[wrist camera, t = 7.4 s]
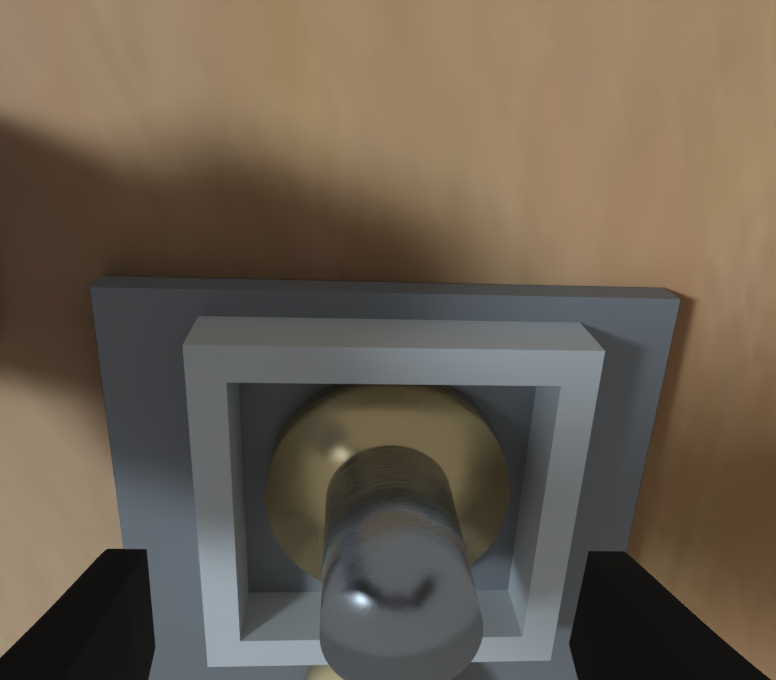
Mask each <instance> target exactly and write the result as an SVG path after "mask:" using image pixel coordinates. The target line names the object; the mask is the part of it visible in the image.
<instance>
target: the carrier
mask: <svg viewBox="0 0 776 680" xmlns="http://www.w3.org/2000/svg"><path fill="white" fill-rule="evenodd" d="M90 294H91V301H92V309H93V317H94V325H95V332H96V340H97V348H98V355H99V363H100V371H101V379H102V386H103V394H104V402H105V410H106V417H107V425H108V433H109V440H110V448H111V456H112V464H113V471H114V479H115V487H116V494H117V502H118V510H119V518H120V525H121V533H122V541H123V549H147V558H148V569H149V580H150V591H151V602H152V613H153V624H154V635H155V646H156V647H155V652H154V656H153V661H152V666H151V670H150V675H149V679H148V680H344V679H342V678H341V677H340V676H339V675H337V674H336V673H335V672H334V671H333V669H332V668H331V667H330V666H329V664H328V663H327V661H326V660H325V658H324V655H323V653H322V650H321V646H320V637H319V634H320V612H321V590H322V581H320V580H318V579H316V578H314V577H312V576H311V575H310V574H308V573H307V572H305V571H304V570H302V569H301V568H300V567H299V566H298V565H297V564H296V563H294V562H293V561H292V560H291V559H290V557H289V556H288V555H287V554H286V553H285V551H284V550H283V549H282V548H281V546H280V544H279V543H278V541H277V539H276V538H275V536H274V533H273V531H272V529H271V526H270V524H269V520H268V516H267V512H266V501H265V494H266V482H267V477H268V472H269V466H270V461H271V457H272V452H273V448H274V445H275V443H276V440H277V438H278V435H279V434H280V432H281V430H282V428H283V426H284V425H285V423H286V422H287V421H288V419H289V418H290V417H291V415H292V414H293V413H294V412H295V411H296V410H297V409H298V408H299V407H300V406H301V405H302V404H303V403H304V402H305V401H306V400H308V399H309V398H310V397H311V396H313V395H314V394H315V393H317V392H319V391H320V390H322V389H324V388H326V387H327V386H329V385H331V384H407V385H449V386H451V387H453V388H454V389H456V390H457V391H459V392H460V393H462V394H463V395H465V396H466V397H467V398H468V399H469V400H471V401H472V402H473V403H474V404H475V405H476V406H477V407H478V408H479V410H480V411H481V412H482V413H483V414H484V416H485V417H486V419H487V420H488V422H489V424H490V425H491V427H492V429H493V431H494V434H495V436H496V438H497V441H498V443H499V446H500V448H501V451H502V453H503V456H504V459H505V461H506V465H507V469H508V473H509V482H510V496H509V504H508V509H507V513H506V516H505V519H504V522H503V524H502V527H501V529H500V530H499V532H498V534H497V536H496V538H495V539H494V541H493V542H492V543H491V545H490V546H489V548H488V549H487V550H486V551H485V552H484V553H483V554H482V555H481V557H480V558H479V559H478V560H477V561H475V562H474V563H473V564H472V565H471V566H470V569H471V573H472V577H473V582H474V586H475V590H476V594H477V598H478V602H479V606H480V610H481V614H482V619H483V637H482V642H481V645H480V647H479V650H478V652H477V654H476V655H475V657H474V659H473V660H472V661H471V662H470V664H469V665H468V666H467V667H466V668H465V669H464V670H463V671H462V672H461V673H460V674H458V675H457V676H456V677H454V678H453V679H451V680H578V678H577V674H576V670H575V666H574V662H573V658H572V654H571V650H570V646H569V641H570V636H571V632H572V627H573V622H574V617H575V613H576V608H577V603H578V599H579V594H580V589H581V585H582V580H583V575H584V571H585V566H586V561H587V556H588V552H589V551H624V552H626V550H627V545H628V541H629V536H630V532H631V527H632V522H633V518H634V513H635V508H636V504H637V499H638V494H639V490H640V485H641V480H642V476H643V471H644V466H645V462H646V457H647V453H648V448H649V443H650V439H651V434H652V429H653V425H654V420H655V415H656V411H657V406H658V401H659V397H660V392H661V388H662V383H663V378H664V374H665V369H666V364H667V360H668V355H669V350H670V346H671V341H672V336H673V332H674V327H675V323H676V318H677V313H678V309H679V304H680V298H678V297H677V296H676V295H674V294H673V293H671V292H670V291H669V290H667V289H666V288H648V287H601V286H554V285H507V284H460V283H413V282H367V281H320V280H273V279H226V278H179V277H132V276H101V277H100V278H99V279H98V280H97V281H96V282H95V283H94V284H93V285H92V286H90Z"/></svg>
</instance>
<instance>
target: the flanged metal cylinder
mask: <svg viewBox="0 0 776 680" xmlns="http://www.w3.org/2000/svg"><path fill="white" fill-rule="evenodd" d="M509 496H510V482H509V473H508V469H507V465H506V461H505V459H504V456H503V453H502V451H501V448H500V446H499V443H498V441H497V438H496V436H495V434H494V431H493V429H492V427H491V425H490V424H489V422H488V420H487V419H486V417H485V416H484V414H483V413H482V412H481V411H480V410H479V408H478V407H477V406H476V405H475V404H474V403H473V402H472V401H471V400H469V399H468V398H467V397H466V396H465V395H463V394H462V393H460V392H459V391H457V390H456V389H454V388H453V387H451V386H449V385H407V384H331V385H329V386H327V387H326V388H324V389H322V390H320V391H319V392H317V393H315V394H314V395H313V396H311V397H310V398H309V399H308V400H306V401H305V402H304V403H303V404H302V405H301V406H300V407H299V408H298V409H297V410H296V411H295V412H294V413H293V414H292V415H291V417H290V418H289V419H288V421H287V422H286V423H285V425H284V426H283V428H282V430H281V432H280V434H279V435H278V438H277V440H276V443H275V445H274V448H273V452H272V457H271V461H270V466H269V472H268V477H267V482H266V494H265V501H266V512H267V516H268V520H269V524H270V526H271V529H272V531H273V533H274V536H275V538H276V539H277V541H278V543H279V544H280V546H281V548H282V549H283V550H284V551H285V553H286V554H287V555H288V556H289V557H290V559H291V560H292V561H293V562H294V563H296V564H297V565H298V566H299V567H300V568H301V569H302V570H304V571H305V572H307V573H308V574H310V575H311V576H312V577H314V578H316V579H318V580H320V581H322V590H321V612H320V634H319V637H320V646H321V650H322V653H323V655H324V658H325V660H326V661H327V663H328V664H329V666H330V667H331V668H332V669H333V671H334V672H335V673H336V674H337V675H339V676H340V677H341V678H342V679H344V680H451V679H453V678H454V677H456V676H457V675H458V674H460V673H461V672H462V671H463V670H464V669H465V668H466V667H467V666H468V665H469V664H470V662H471V661H472V660H473V659H474V657H475V655H476V654H477V652H478V650H479V647H480V645H481V642H482V637H483V619H482V614H481V610H480V606H479V602H478V598H477V594H476V590H475V586H474V582H473V577H472V573H471V569H470V566H471V565H472V564H473V563H474V562H475V561H477V560H478V559H479V558H480V557H481V555H482V554H483V553H484V552H485V551H486V550H487V549H488V548H489V546H490V545H491V543H492V542H493V541H494V539H495V538H496V536H497V534H498V532H499V530H500V529H501V527H502V524H503V522H504V519H505V516H506V513H507V509H508V504H509Z"/></svg>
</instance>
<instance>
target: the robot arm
mask: <svg viewBox="0 0 776 680" xmlns="http://www.w3.org/2000/svg"><path fill="white" fill-rule="evenodd" d="M569 646H570V650H571V654H572V658H573V662H574V666H575V670H576V674H577V678H578V680H771V679H769V678H768V677H767V676H766V675H764V674H763V673H762V672H761V671H759V670H758V669H757V668H756V667H754V666H753V665H752V664H751V663H750V662H748V661H747V660H746V659H745V658H744V657H742V656H741V655H740V654H739V653H738V652H737V651H735V650H734V649H733V648H732V647H731V646H730V645H728V644H727V643H726V642H725V641H724V640H723V639H721V638H720V637H719V636H718V635H717V634H716V633H715V632H713V631H712V630H711V629H710V628H709V627H708V626H707V625H705V624H704V623H703V622H702V621H701V620H700V619H699V618H698V617H697V616H695V615H694V614H693V613H692V612H691V611H690V610H689V609H688V608H687V607H685V606H684V605H683V604H682V603H681V602H680V601H679V600H678V599H677V598H676V597H674V596H673V595H672V594H671V593H670V592H669V591H668V590H667V589H666V588H665V587H664V586H662V585H661V584H660V583H659V582H658V581H657V580H656V579H655V578H654V577H653V576H652V575H650V574H649V573H648V572H647V571H646V570H645V569H644V568H643V567H642V566H640V565H639V564H638V563H637V562H636V561H635V560H634V559H633V558H631V557H630V556H629V555H628V554H627V553H626V552H624V551H589V552H588V556H587V561H586V566H585V571H584V575H583V580H582V585H581V589H580V594H579V599H578V603H577V608H576V613H575V617H574V622H573V627H572V632H571V636H570V641H569ZM155 647H156V646H155V635H154V624H153V613H152V602H151V591H150V580H149V569H148V558H147V549H107V550H105V551H104V552H103V553H102V554H101V555H100V556H99V557H98V558H97V559H96V560H95V561H94V562H93V563H92V564H91V565H90V566H89V567H88V569H87V570H86V571H85V572H84V573H83V574H82V575H81V576H80V577H79V578H78V579H77V580H76V581H75V582H74V584H73V585H72V586H71V587H70V588H69V589H68V590H67V591H66V592H65V593H64V594H63V595H62V596H61V597H60V598H59V599H58V600H57V601H56V603H55V604H54V605H53V606H52V607H51V608H50V609H49V610H48V611H47V612H46V613H45V614H44V615H43V616H42V617H41V618H40V619H39V620H38V621H37V622H36V623H35V624H34V625H33V626H32V627H31V628H30V629H29V630H28V631H27V632H26V633H25V634H24V635H23V636H22V637H21V638H20V639H19V640H18V641H17V642H16V643H15V644H14V645H13V646H12V647H11V648H10V649H9V650H8V651H7V652H6V653H5V654H4V655H3V656H2V657H1V658H0V680H148V679H149V675H150V670H151V666H152V661H153V656H154V652H155Z"/></svg>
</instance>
